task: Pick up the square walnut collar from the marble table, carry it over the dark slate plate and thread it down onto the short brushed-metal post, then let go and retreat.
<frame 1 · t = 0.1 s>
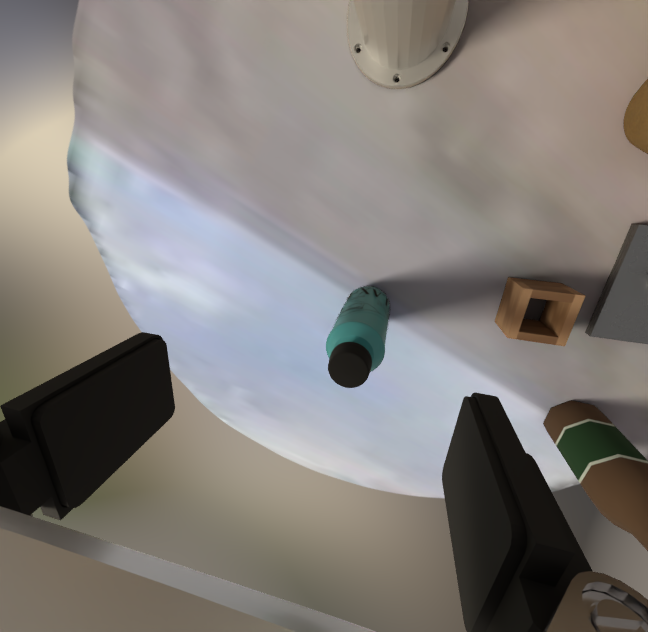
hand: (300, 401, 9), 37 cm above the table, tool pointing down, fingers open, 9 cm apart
walnut collar: (526, 303, 41), on the table
beverage bottle: (368, 302, 46), on the table
beer bottle: (570, 419, 46), on the table
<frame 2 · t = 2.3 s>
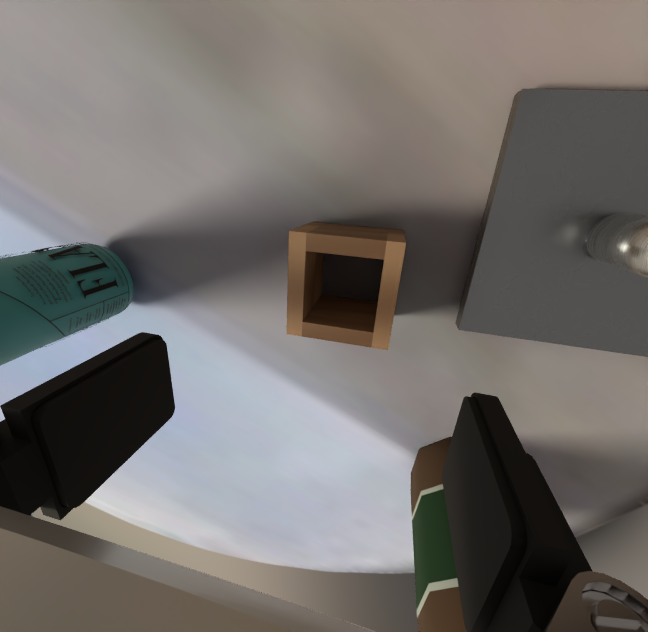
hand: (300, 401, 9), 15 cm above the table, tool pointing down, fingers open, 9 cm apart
post block: (602, 235, 19), on the table
walnut collar: (352, 270, 23), on the table
beverage bottle: (118, 274, 28), on the table
beer bottle: (453, 467, 28), on the table
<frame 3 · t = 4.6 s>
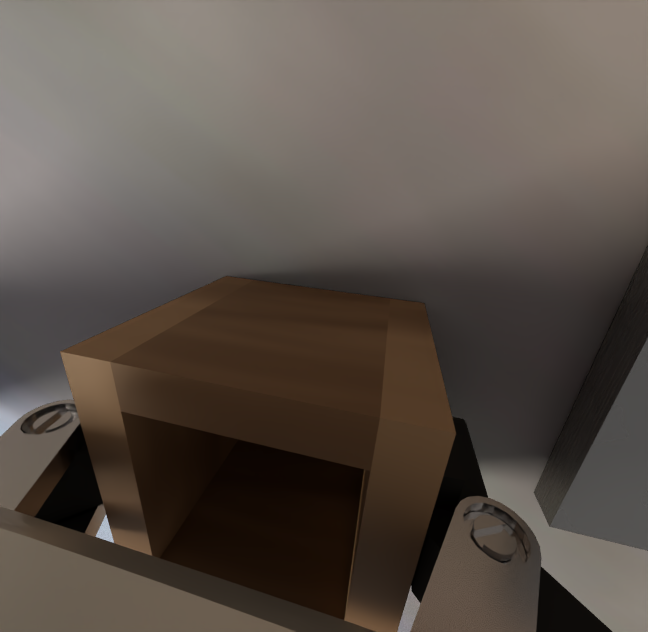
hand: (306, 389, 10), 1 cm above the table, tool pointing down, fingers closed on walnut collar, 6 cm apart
walnut collar: (313, 375, 11), on the table, touching gripper
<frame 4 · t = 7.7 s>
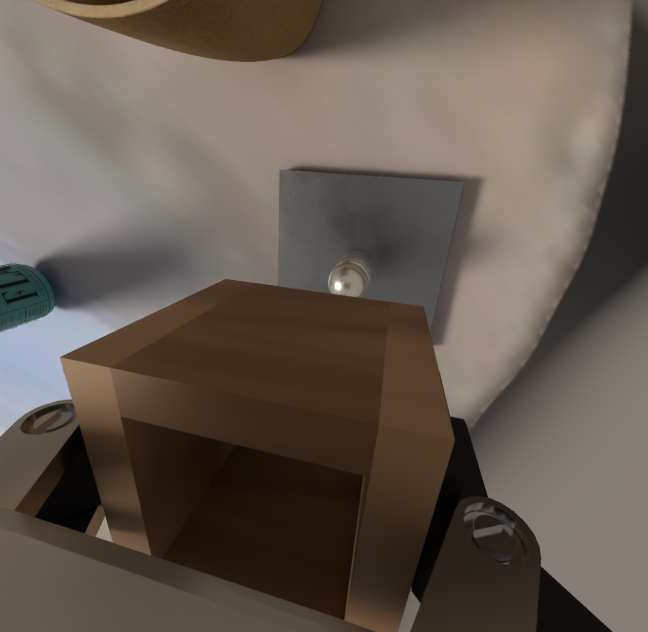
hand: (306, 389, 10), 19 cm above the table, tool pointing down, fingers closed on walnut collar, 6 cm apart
post block: (358, 263, 27), on the table
walnut collar: (313, 378, 11), point 18 cm above the table, touching gripper
beverage bottle: (47, 286, 36), on the table
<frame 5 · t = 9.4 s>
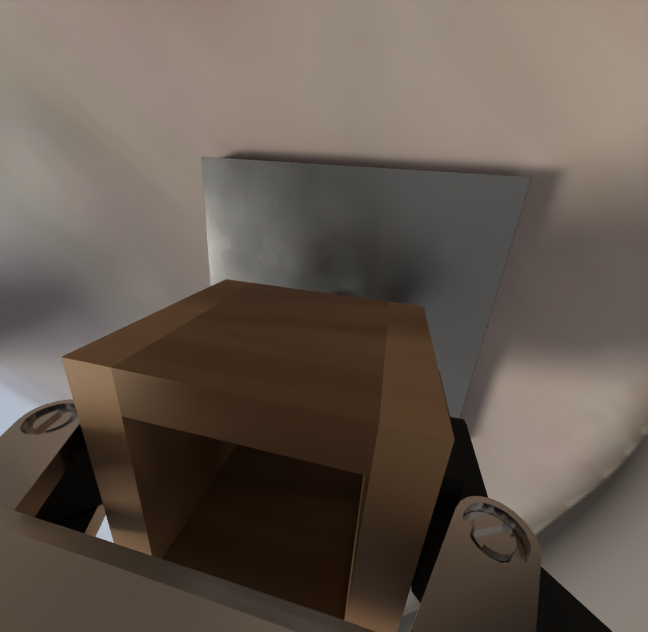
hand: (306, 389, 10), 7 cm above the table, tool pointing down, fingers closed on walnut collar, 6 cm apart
post block: (340, 310, 17), on the table
walnut collar: (313, 378, 11), point 7 cm above the table, touching gripper
when the fingers open (4 cm above the table, at t = 11.0 s): walnut collar drops 2 cm, resting on post block.
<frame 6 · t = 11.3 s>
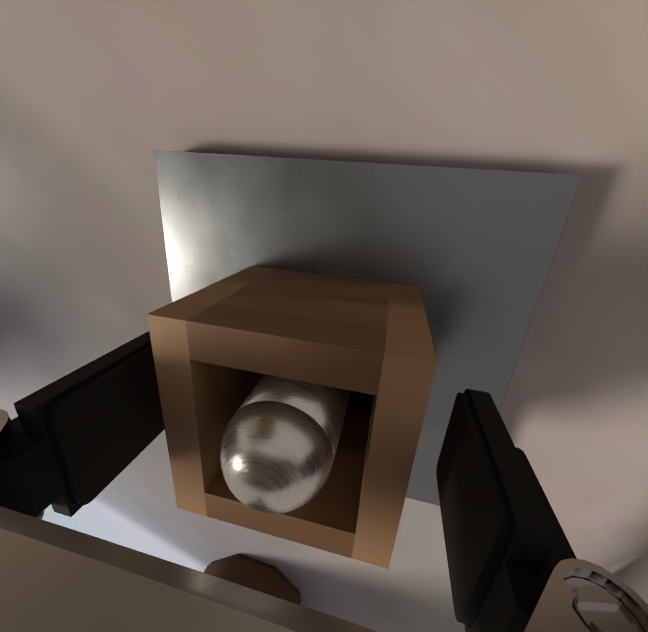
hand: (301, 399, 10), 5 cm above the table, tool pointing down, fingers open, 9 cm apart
post block: (331, 338, 14), on the table
walnut collar: (325, 351, 13), point 1 cm above the table, touching post block
beer bottle: (255, 585, 23), on the table
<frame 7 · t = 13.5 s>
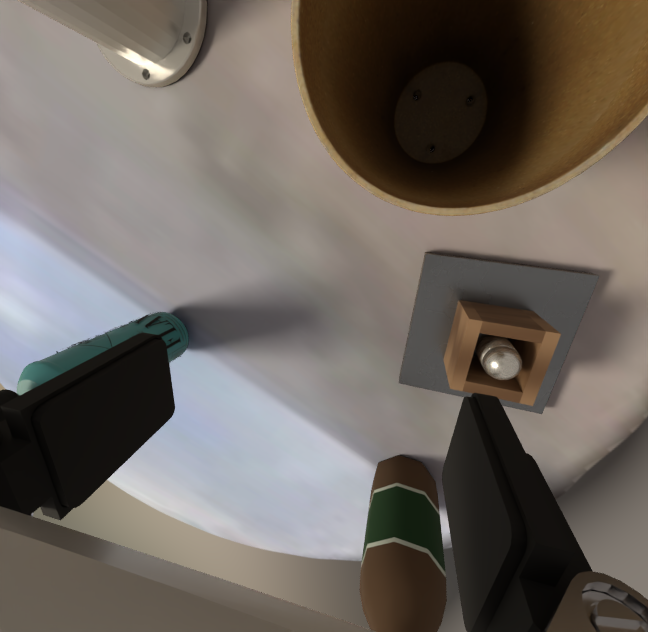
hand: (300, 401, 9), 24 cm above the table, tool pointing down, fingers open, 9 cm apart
plant pot: (440, 120, 26), on the table
post block: (483, 332, 31), on the table
walnut collar: (485, 337, 29), point 1 cm above the table, touching post block
beverage bottle: (177, 329, 41), on the table
beer bottle: (403, 477, 39), on the table
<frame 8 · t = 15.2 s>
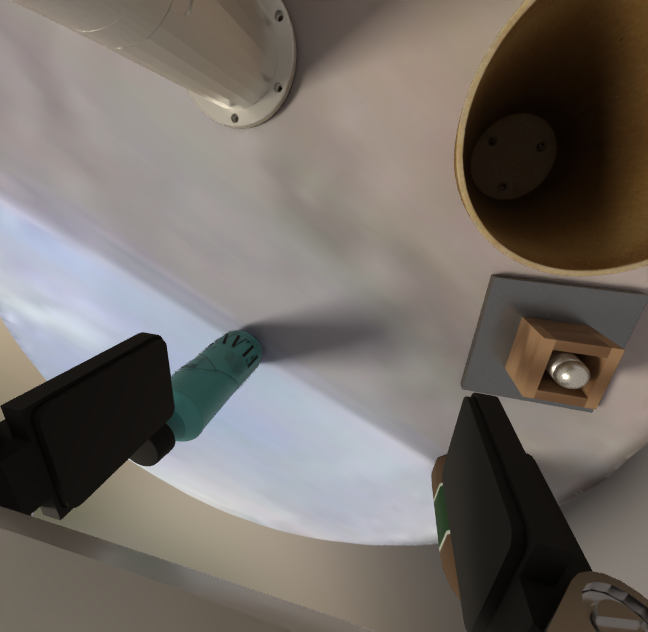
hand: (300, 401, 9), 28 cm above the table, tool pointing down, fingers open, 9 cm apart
plant pot: (511, 161, 29), on the table
post block: (540, 343, 35), on the table
walnut collar: (545, 348, 34), point 1 cm above the table, touching post block
beverage bottle: (246, 344, 44), on the table
beer bottle: (458, 470, 43), on the table
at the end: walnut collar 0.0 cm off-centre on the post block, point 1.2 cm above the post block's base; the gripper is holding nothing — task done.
